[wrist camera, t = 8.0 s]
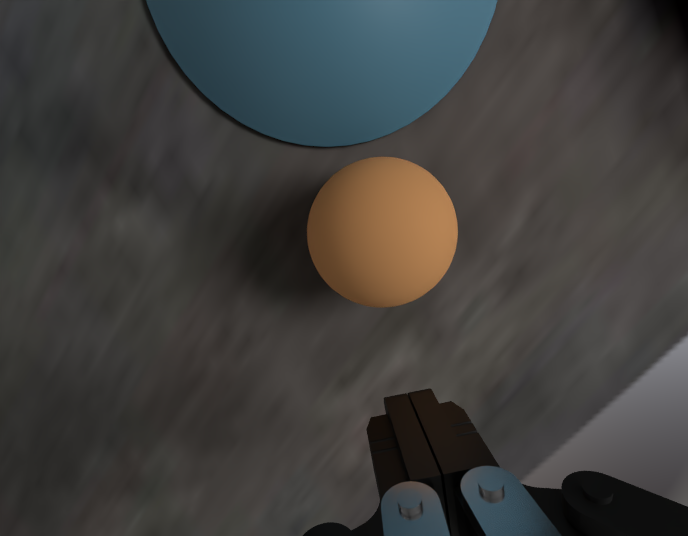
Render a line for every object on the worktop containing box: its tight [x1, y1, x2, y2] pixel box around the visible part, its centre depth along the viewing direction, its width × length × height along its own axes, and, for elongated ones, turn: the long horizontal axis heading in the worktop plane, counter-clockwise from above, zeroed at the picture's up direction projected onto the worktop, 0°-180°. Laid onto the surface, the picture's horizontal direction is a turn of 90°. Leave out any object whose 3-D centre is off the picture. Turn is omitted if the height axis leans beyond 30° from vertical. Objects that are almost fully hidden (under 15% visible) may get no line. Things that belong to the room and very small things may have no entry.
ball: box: [307, 157, 458, 307], centre depth 16 cm, size 6×6×6 cm
